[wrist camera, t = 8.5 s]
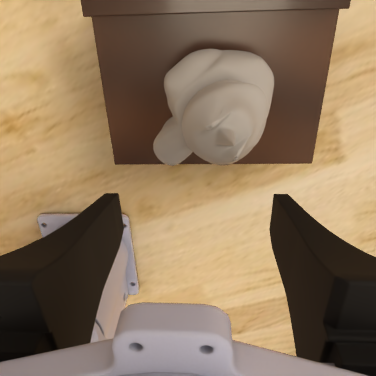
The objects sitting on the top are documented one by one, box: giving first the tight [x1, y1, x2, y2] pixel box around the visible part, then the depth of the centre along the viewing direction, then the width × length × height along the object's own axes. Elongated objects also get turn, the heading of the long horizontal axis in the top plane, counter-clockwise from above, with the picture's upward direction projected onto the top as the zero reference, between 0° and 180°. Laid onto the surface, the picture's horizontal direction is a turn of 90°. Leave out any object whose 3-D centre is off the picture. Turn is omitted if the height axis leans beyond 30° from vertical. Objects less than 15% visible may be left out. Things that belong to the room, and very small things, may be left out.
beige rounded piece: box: [153, 49, 274, 166], centre depth 15 cm, size 5×7×8 cm
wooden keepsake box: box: [81, 0, 351, 164], centre depth 19 cm, size 9×12×6 cm
